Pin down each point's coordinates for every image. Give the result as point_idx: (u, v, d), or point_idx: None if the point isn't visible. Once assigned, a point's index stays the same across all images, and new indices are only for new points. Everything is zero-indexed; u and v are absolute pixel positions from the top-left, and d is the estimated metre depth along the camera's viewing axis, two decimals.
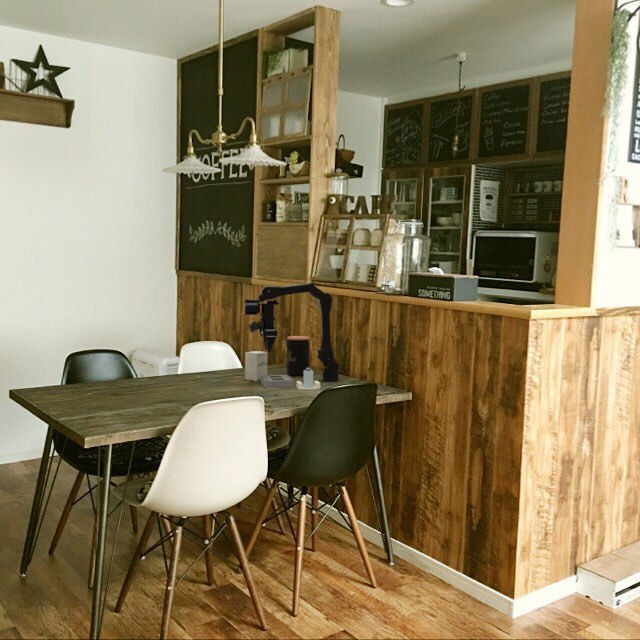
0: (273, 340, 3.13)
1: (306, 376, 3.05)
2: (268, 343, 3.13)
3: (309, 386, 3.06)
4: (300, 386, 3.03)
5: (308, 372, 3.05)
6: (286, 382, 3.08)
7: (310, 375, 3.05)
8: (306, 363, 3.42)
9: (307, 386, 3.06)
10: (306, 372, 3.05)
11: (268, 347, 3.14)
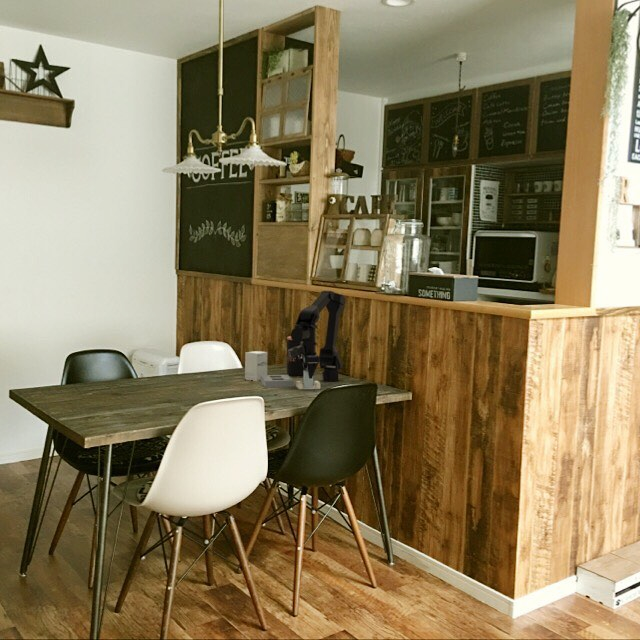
0: (315, 366, 3.01)
1: (306, 376, 3.05)
2: (310, 369, 3.01)
3: (309, 386, 3.06)
4: (300, 386, 3.03)
5: None
6: (286, 382, 3.08)
7: None
8: None
9: (307, 386, 3.06)
10: (306, 372, 3.05)
11: (310, 374, 3.02)
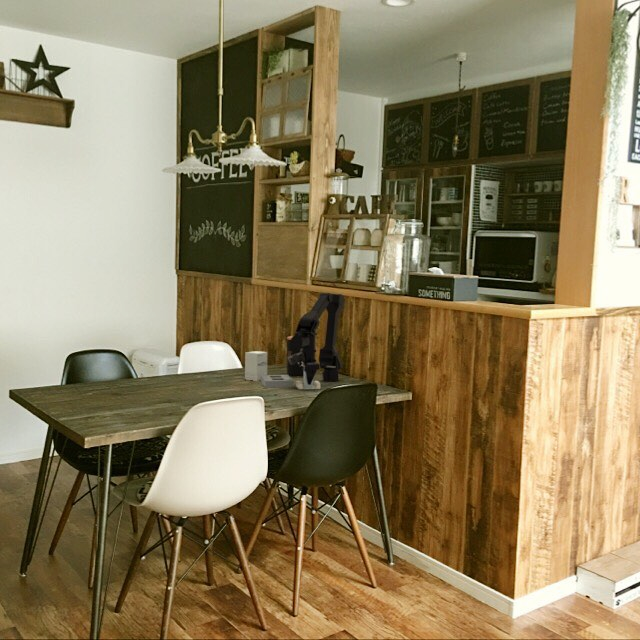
0: (313, 372, 3.04)
1: None
2: (308, 376, 3.04)
3: (309, 386, 3.06)
4: (300, 386, 3.03)
5: None
6: (286, 382, 3.08)
7: None
8: None
9: (307, 386, 3.06)
10: None
11: (308, 380, 3.05)
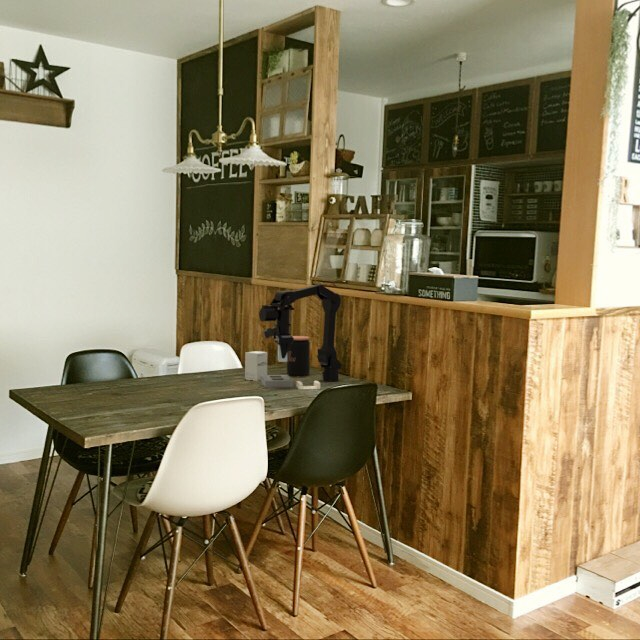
0: (288, 346, 3.06)
1: (280, 350, 3.07)
2: (282, 349, 3.06)
3: (283, 360, 3.08)
4: (300, 386, 3.03)
5: None
6: (286, 382, 3.08)
7: None
8: (306, 363, 3.42)
9: (281, 360, 3.08)
10: None
11: (283, 353, 3.07)
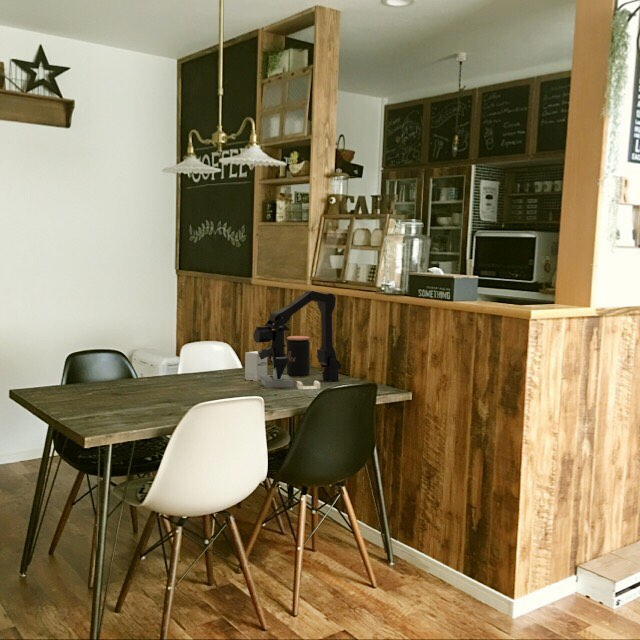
0: (283, 367, 3.07)
1: (275, 374, 3.09)
2: (278, 370, 3.07)
3: None
4: (300, 386, 3.03)
5: None
6: (286, 382, 3.08)
7: None
8: (306, 363, 3.42)
9: None
10: (275, 370, 3.09)
11: (278, 374, 3.08)
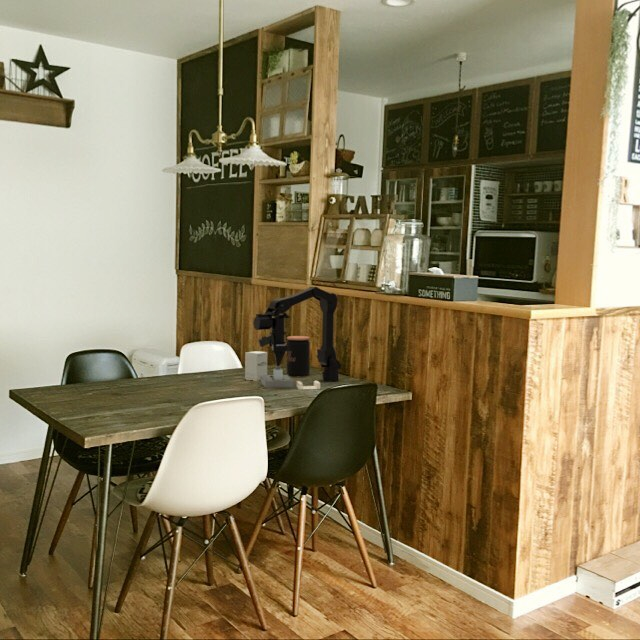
0: (282, 354, 3.09)
1: (275, 374, 3.09)
2: (277, 357, 3.09)
3: None
4: (300, 386, 3.03)
5: (277, 370, 3.09)
6: (286, 382, 3.08)
7: (279, 373, 3.10)
8: (306, 363, 3.42)
9: None
10: (275, 370, 3.09)
11: (277, 361, 3.10)
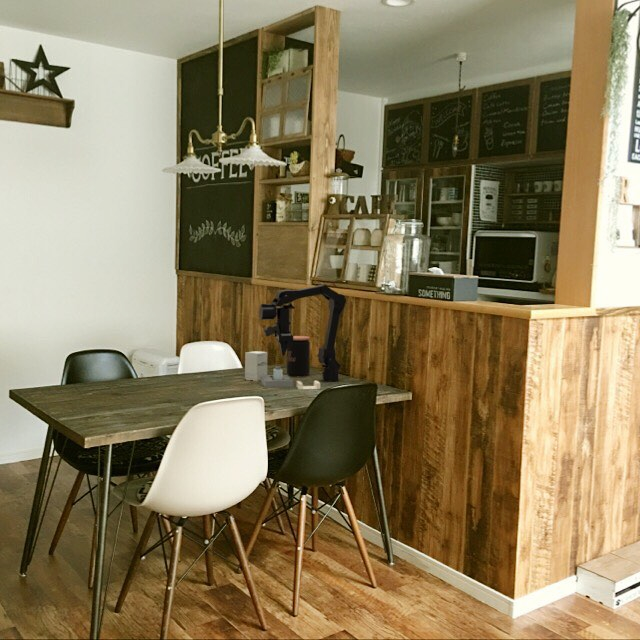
0: (287, 343, 3.15)
1: (275, 374, 3.09)
2: (282, 346, 3.15)
3: None
4: (300, 386, 3.03)
5: (277, 370, 3.09)
6: (286, 382, 3.08)
7: (279, 373, 3.10)
8: (306, 363, 3.42)
9: None
10: (275, 370, 3.09)
11: (282, 351, 3.16)
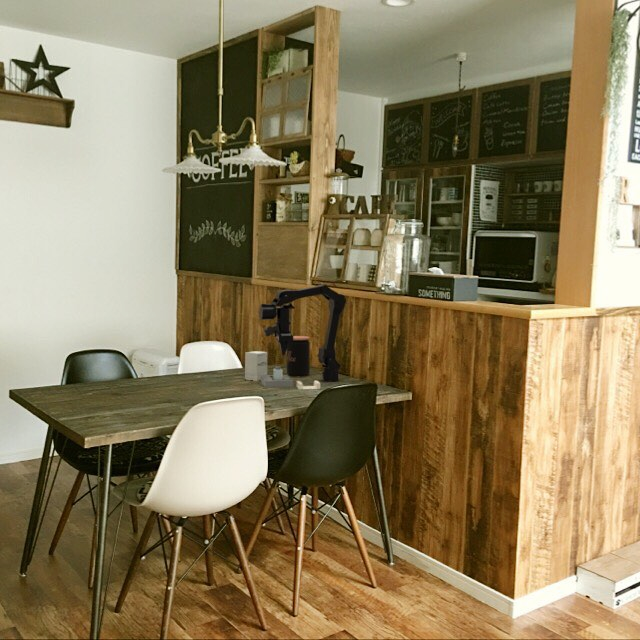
0: (287, 343, 3.15)
1: (275, 374, 3.09)
2: (282, 346, 3.15)
3: None
4: (300, 386, 3.03)
5: (277, 370, 3.09)
6: (286, 382, 3.08)
7: (279, 373, 3.10)
8: (306, 363, 3.42)
9: None
10: (275, 370, 3.09)
11: (282, 351, 3.16)
